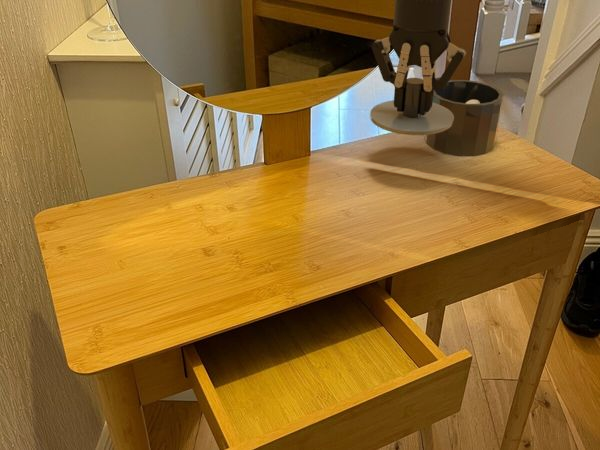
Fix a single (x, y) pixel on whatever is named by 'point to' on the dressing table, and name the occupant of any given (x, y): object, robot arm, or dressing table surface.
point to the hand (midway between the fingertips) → (412, 111)
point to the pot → (468, 118)
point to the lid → (412, 113)
